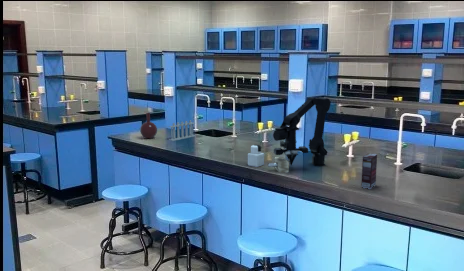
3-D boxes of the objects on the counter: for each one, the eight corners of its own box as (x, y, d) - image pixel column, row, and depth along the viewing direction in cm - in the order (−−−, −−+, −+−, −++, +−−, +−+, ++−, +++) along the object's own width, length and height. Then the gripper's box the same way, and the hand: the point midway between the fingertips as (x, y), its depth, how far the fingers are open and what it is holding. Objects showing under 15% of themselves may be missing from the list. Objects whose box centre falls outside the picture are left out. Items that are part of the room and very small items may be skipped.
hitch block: (282, 166, 242) (282, 156, 241) (288, 172, 231) (288, 162, 230) (274, 167, 242) (274, 157, 241) (279, 172, 230) (280, 162, 229)
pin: (287, 167, 239) (287, 159, 238) (289, 169, 235) (289, 161, 234) (267, 168, 237) (267, 160, 236) (269, 170, 233) (269, 162, 232)
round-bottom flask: (151, 136, 339) (150, 111, 335) (160, 138, 329) (159, 113, 325) (137, 138, 330) (136, 113, 326) (146, 140, 320) (145, 114, 317)
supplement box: (366, 183, 210) (368, 152, 207) (375, 185, 208) (377, 154, 205) (360, 187, 203) (362, 156, 200) (370, 189, 201) (372, 157, 198)
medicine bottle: (254, 162, 252) (254, 143, 250) (264, 164, 248) (264, 145, 245) (247, 165, 247) (247, 145, 244) (257, 167, 242) (257, 147, 240)
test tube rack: (172, 141, 319) (172, 124, 317) (168, 140, 322) (168, 123, 319) (195, 136, 338) (195, 120, 335) (191, 135, 341) (191, 119, 338)
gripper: (302, 134, 243) (302, 160, 246) (271, 136, 240) (271, 163, 243) (308, 138, 232) (308, 165, 235) (276, 140, 229) (276, 167, 232)
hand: (291, 165), depth 237 cm, fingers closed
